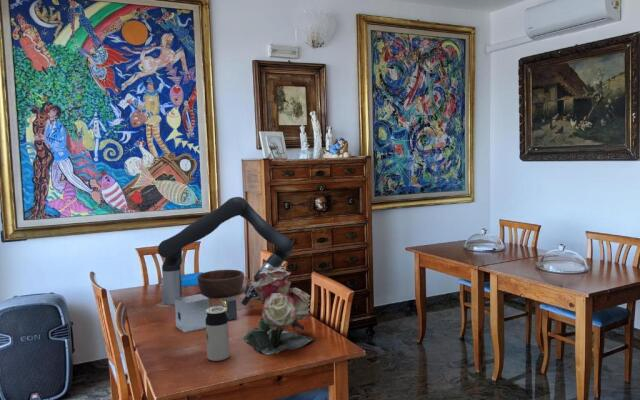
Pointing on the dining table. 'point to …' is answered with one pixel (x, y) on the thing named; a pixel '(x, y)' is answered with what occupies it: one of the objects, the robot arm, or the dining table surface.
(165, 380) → the dining table surface
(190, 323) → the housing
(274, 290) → the rose bouquet
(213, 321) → the travel mug
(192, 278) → the book
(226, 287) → the wooden bowl
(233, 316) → the dark boxy piece
